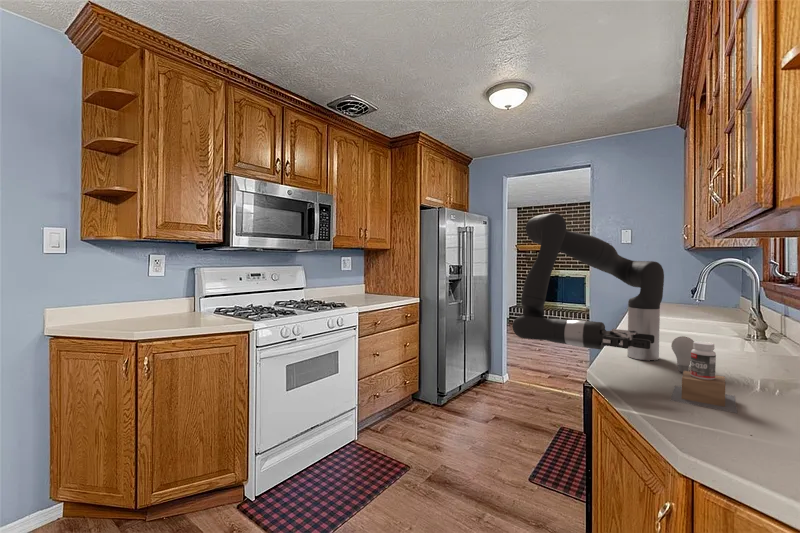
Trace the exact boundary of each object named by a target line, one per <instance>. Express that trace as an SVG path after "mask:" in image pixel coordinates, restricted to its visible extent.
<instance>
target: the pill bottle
mask: <svg viewBox="0 0 800 533" xmlns="http://www.w3.org/2000/svg"><path fill="white" fill-rule="evenodd" d="M693 341H694V340H693ZM693 348H694V349H692V350H691V362H690V374H691V376H692V377H695V378H698V379H704V380H714V379H715V375H716V364H717V363H716V362H717V360H716V359H717V354H716V352H715V343H713V342H709V341H701V340H699V341H697V340H696V341H694V342H693Z"/></svg>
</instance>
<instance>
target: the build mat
mask: <svg viewBox="0 0 800 533" xmlns="http://www.w3.org/2000/svg"><path fill="white" fill-rule="evenodd" d="M670 401H671V402H677V403H682V404H685V405H691V406H692V405H693V406H697V407H703V408H708V409H714V410H718V411H723V412H728V413H729V412H730V413H734V414H738V409H737V403H736V396H735V395H733V394H726V393H725V407H723V406H718V405H713V404H707V403H702V402H697V401H691V400H686V399H682V385H681V386H679V385H674V387H673V390H672V393H671V397H670Z"/></svg>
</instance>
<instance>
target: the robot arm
mask: <svg viewBox="0 0 800 533" xmlns="http://www.w3.org/2000/svg"><path fill="white" fill-rule="evenodd" d="M525 233H526V235H527V237H528V239H529V240H531V241H532V242H533V243H535V244H538V245H540V248H539V251H538V254H537V257H536V259H535V261H534V262H533V265H532V266H531V268H530V269H529V271H528V273H527V275H526V277H525V280H524V284H523V289H522V293H521V300H520V303H521V306H522V307H523V309H522V315H519V316H517V317H516V318H515V319H514V320H513V322H512V325H511V326H512V327H511V328H512V331H513V333H514V334H515V335H516V336H517V337H519V338H521V339H524V340H525V339H526V340H536V341H537V340H538V341H547V342H552V343H556V344H563V345H570V346H573V347H577V348H586V349H593V350H600V351H601V350H602V349H603V348H604V347H612V348H619V349H627V357H629V358H632V359H636V360H641V361H650V360H654V361H659V360H660V325H661V322H660V321H661V320H660V319H661V318H660V315H661V314H660V313H661V311H660V309H661V302H662V300H663V296H664V295H663V294H664V284H665V271H664V268H663V266H662V264H661V263H659V262H657V261H653V260H650V261H649V260H631V259H629V258H626V257H624V256H622V255H619V254H618V251H617V249H616V248H615V247H614V246H613V245H612V244H611V243H609V242H607V241H605V240H603V239H601V238H598V237H595V236H594V235H590V234H586V233H585V234H584V233H580V232H575V231H570V230H567V221H566V219H565V217H563V215H561V214H559V213H556V212H554V213H553V212H551V213H544V214H539V215H536V216H534V217H531V218H530V219H529V220H528V221H527V223H526V225H525ZM559 252H561V253H563V254H564V255H567V256H569V257H570V258H572V259H575V260H577V261H579V262H581V263H583V264H585V265H588V266H589V267H591V268H594V269H597V270H598V271H601V272H604V273H607V274H609V275H612V276H613V277H615V278H616V279H619V280H620V281H621V282H623V283H625V284H626V285H627V286H630V287H634V288H640V289H639V294H637V295H635V296H634V297H631V298H629V299H628V303H627V304H628V306H627V307H628V308H627V310H628V311H627V312H628V314H627V315H628V316H627V329H617V328H612V329H611V330H606V326H605V324H604V322H601V321H593V320H584V319H583V320H581V319H562V318H545V317H544V316H545V315H544V314H545V307H544V306H545V302H546V298H547V292H548V289H549V288H548V287H549V283H550V281H551V275H552V272H553V269H554V266H555V264H556V261H557V260H558V259H557V258H558V255H559V254H560V253H559ZM658 359H659V360H658Z"/></svg>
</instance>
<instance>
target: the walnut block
mask: <svg viewBox="0 0 800 533" xmlns="http://www.w3.org/2000/svg"><path fill="white" fill-rule="evenodd" d="M690 372H691V370H689V371H684V372H683V373H682V377H681V387H682V399H686V400H691V401H697V402H702V403H707V404H713V405H718V406H723V407H725V394H726V376H722V375H717V374H715V379H714V380H704V379H698V378H695V377H692V376H691V374H690Z"/></svg>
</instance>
